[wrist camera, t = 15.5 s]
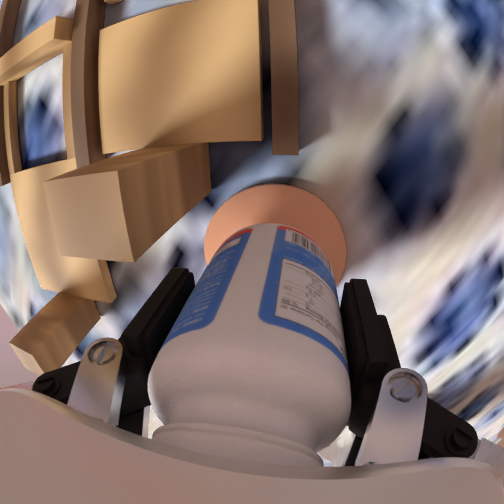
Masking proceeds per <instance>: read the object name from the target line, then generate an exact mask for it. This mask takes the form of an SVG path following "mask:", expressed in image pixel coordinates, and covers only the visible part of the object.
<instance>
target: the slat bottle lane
mask: <svg viewBox="0 0 504 504" xmlns="http://www.w3.org/2000/svg"><path fill="white" fill-rule="evenodd" d="M73 25H74V20H73V19H68V18H64V17H59V16H56V17H54V18H53V19H51V20H49V21H48V22H46V23H45V24H43V25H42V26H41V27H39V28H38V29H36V30H35V31H33V32H32V33H31V34H29V35H28V36H27V37H25V38H24V39H23V40H21V41H20V42H19V43H18V44H16V45H15V46H14V47H13V48H11V49H10V50H9V51H8V52H7V53H5V54H4V55H3V56H2V57H1V58H0V86H1V85H4V129H5V142H6V152H7V160H8V167H9V174H10V180H11V185H12V191H13V196H14V200H15V205H16V209H17V214H18V218H19V222H20V225H21V229H22V233H23V236H24V240H25V243H26V246H27V249H28V252H29V256H30V259H31V261H32V264H33V267H34V270H35V273H36V275H37V278H38V281H39V283H40V286H41V288H42V289H47V290H51V291H55V292H59V293H58V294H57V295H56V296H55V297H54V298H53V299H52V300H51V301H50V302H49V303H47V304H46V305H45V306H44V307H43V308H42V309H41V310H40V311H39V312H38V313H37V314H36V315H35V316H34V317H33V318H32V319H31V320H30V321H29V322H28V323H27V324H26V325H25V326H24V327H23V328H22V329H21V330H20V332H19V333H18V334H17V335H16V336H15V337H14V338H13V339H12V340H11V341H10V342H9V343H10V344H11V346H12V348H13V349H14V351H15V353H16V354H17V356H18V357H19V359H20V360H21V362H22V363H23V365H24V366H25V368H27V369H28V370H30V371H32V372H33V373H35V374H37V375H39V376H41V375H42V374H44V373H46V372H49V371H52V370H55V369H58V368H61V367H62V365H63V364H64V363H65V361H66V360H67V359H68V358H69V356H70V355H71V354H72V352H73V351H74V350H75V349H76V347H77V346H78V345H79V344H80V342H81V341H82V340H83V339H84V337H85V336H86V335H87V334H88V333H89V331H90V330H91V329H92V328H93V327H94V325H95V324H96V323H97V322H98V321H99V319H100V318H101V317H100V315H99V312H98V310H97V307H96V304H95V302H94V300H96V301H101V302H106V303H112V302H113V301H114V299H115V298H116V297H117V295H116V292H115V289H114V286H113V282H112V279H111V276H110V272H109V269H108V265H107V261H106V260H99V259H88V258H78V257H68V256H61V255H60V252H59V249H58V245H57V242H56V238H55V234H54V231H53V227H52V223H51V219H50V215H49V210H48V206H47V201H46V196H45V191H44V185H43V182H44V181H47V180H49V179H51V178H54V177H56V176H59V175H62V174H64V173H67V172H70V171H72V170H75V169H77V166H76V158H75V150H74V140H73V129H72V114H71V49H72V35H73ZM61 53H63V116H64V131H65V141H66V151H67V159H64V160H60V161H55V162H51V163H47V164H43V165H40V166H36V167H32V168H29V169H25V170H22V165H21V158H20V150H19V140H18V127H17V103H16V89H17V80H18V79H20V78H21V77H23V76H24V75H26V74H27V73H29V72H30V71H32V70H34V69H35V68H37V67H38V66H40V65H42V64H43V63H45V62H47V61H48V60H50V59H52V58H54V57H56V56H57V55H59V54H61Z"/></svg>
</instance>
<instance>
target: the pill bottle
mask: <svg viewBox="0 0 504 504" xmlns="http://www.w3.org/2000/svg"><path fill="white" fill-rule="evenodd" d="M148 394H149V399H150V402H151V405H152V407H153V409H154V411H155V413H156V415H157V416H158V417H159V419H160V420H161V421H162V422H163V424H164V426H161V427H159V428H157V429H156V430H155V431H154V433H153V437H152V440H155V441H158V442H161V443H165V444H168V445H172V446H175V447H179V448H183V449H187V450H191V451H195V452H199V453H204V454H209V455H213V456H219V457H224V458H230V459H236V460H242V461H249V462H257V463H266V464H276V465H289V466H309V467H323V466H324V465H323V460H322V458H321V457H320V456H319V455H318V454H317V452H319V451H321V450H322V449H324V448H326V447H327V446H329V445H330V444H331V443H332V442H334V441H335V440H336V439H337V438H338V437H339V435H340V434H341V433H342V431H343V430H344V428H345V427H346V425H347V423H348V420H349V417H350V413H351V390H350V378H349V368H348V360H347V353H346V345H345V338H344V331H343V324H342V317H341V312H340V307H339V301H338V295H337V290H336V284H335V278H334V273H333V269H332V266H331V263H330V261H329V258H328V256H327V255H326V253H325V252H324V250H323V249H322V248H321V246H320V245H319V244H318V243H317V242H316V241H315V240H314V239H313V238H311V237H310V236H309V235H307V234H305V233H304V232H302V231H300V230H298V229H296V228H293V227H290V226H287V225H283V224H276V223H261V224H255V225H251V226H248V227H245V228H242V229H240V230H238V231H237V232H235V233H234V234H232V235H231V236H229V237H228V238H227V239H226V240H225V241H224V242H223V243H222V244H221V246H220V247H219V248H218V250H217V251H216V252H215V254H214V256H213V257H212V259H211V261H210V262H209V264H208V266H207V268H206V269H205V271H204V273H203V274H202V276H201V278H200V279H199V281H198V283H197V284H196V286H195V288H194V290H193V291H192V293H191V295H190V296H189V298H188V300H187V302H186V304H185V305H184V307H183V309H182V311H181V313H180V314H179V316H178V318H177V320H176V322H175V323H174V325H173V327H172V329H171V331H170V333H169V334H168V336H167V338H166V340H165V342H164V343H163V345H162V347H161V349H160V351H159V353H158V355H157V357H156V359H155V361H154V363H153V365H152V368H151V370H150V373H149V377H148Z"/></svg>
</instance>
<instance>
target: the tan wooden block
mask: <svg viewBox="0 0 504 504" xmlns="http://www.w3.org/2000/svg"><path fill="white" fill-rule="evenodd" d="M98 92H99V115H100V129H101V141H102V151H103V154H107V153H113V152H120V151H126V150H133V149H138V150H135V151H131V152H128V153H124V154H121V155H117V156H114V157H111V158H108V159H104V160H101V161H98V162H95V163H92V164H89V165H86V166H83V167H81V168H78V169H75V170H72V171H70V172H67V173H64V174H62V175H59V176H56V177H54V178H51V179H49V180H47V181H44V182H43V185H44V191H45V196H46V201H47V206H48V210H49V215H50V219H51V223H52V227H53V231H54V234H55V238H56V242H57V245H58V249H59V252H60V255H61V256H68V257H78V258H88V259H99V260H110V261H121V262H132V263H134V262H135V261H136V260H137V259H138V258H139V257H140V256H141V255H142V254H143V253H144V252H145V251H147V250H148V249H149V248H150V247H151V246H152V245H153V244H154V243H155V242H156V241H157V240H158V239H159V238H160V237H161V236H162V235H163V234H164V233H166V232H167V231H168V230H169V229H170V228H171V227H172V226H173V225H174V224H175V223H176V222H177V221H179V220H180V219H181V218H182V217H183V216H184V215H185V214H186V213H187V212H189V211H190V210H191V209H192V208H193V207H194V206H195V205H196V204H198V203H199V202H200V201H201V200H202V199H203V198H204V197H206V196H207V195H208V194H209V193H210V192H211V191H212V190H211V174H210V158H209V142H228V141H262V140H264V121H263V77H262V43H261V14H260V0H196V1H191V2H186V3H182V4H177V5H173V6H169V7H166V8H162V9H158V10H155V11H151V12H148V13H145V14H142V15H139V16H136V17H133V18H130V19H127V20H124V21H122V22H119V23H116V24H114V25H111V26H109V27H106V28H104V29H101V30H100V34H99V56H98ZM141 148H142V149H141Z"/></svg>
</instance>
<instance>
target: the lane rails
mask: <svg viewBox="0 0 504 504" xmlns="http://www.w3.org/2000/svg"><path fill="white" fill-rule="evenodd" d="M20 1H21V0H3V2H2V5H1V9H0V58H1V57H2V56H3V55H4V54H5V53H7V52H8V51H9V50H10V49H11V48H12V45H13V38H14V31H15V25H16V20H17V15H18V10H19V5H20ZM120 1H123V0H77V2H76V9H75V16H74V25H73V35H72V49H71V114H72V129H73V140H74V150H75V158H76V166H77V169H78V168H81V167H83V166H86V165H89V164H92V163H95V162H98V161H101V160H104V159H107V157H106V154H103V151H102V141H101V129H100V115H99V92H98V56H99V34H100V30H101V29H103V24H104V12H105V3H109V4H111V5H113V4H115V3H118V2H120ZM268 5H269V28H270V57H271V95H272V155H298V151H299V112H298V64H297V39H296V20H295V5H294V0H268ZM10 182H11V180H10V174H9V167H8V160H7V152H6V142H5V129H4V85H1V86H0V186H3V185H5V184H8V183H10Z"/></svg>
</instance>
